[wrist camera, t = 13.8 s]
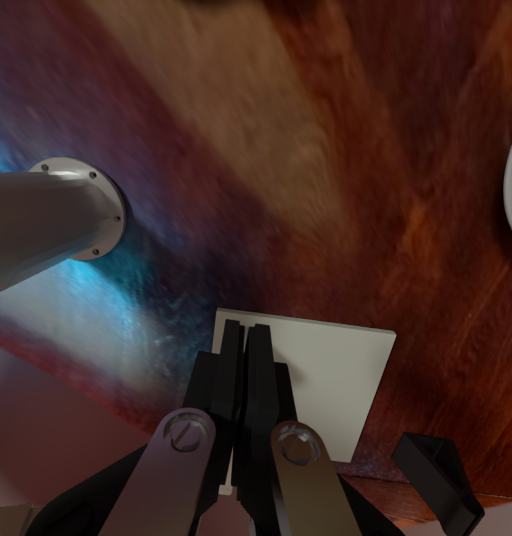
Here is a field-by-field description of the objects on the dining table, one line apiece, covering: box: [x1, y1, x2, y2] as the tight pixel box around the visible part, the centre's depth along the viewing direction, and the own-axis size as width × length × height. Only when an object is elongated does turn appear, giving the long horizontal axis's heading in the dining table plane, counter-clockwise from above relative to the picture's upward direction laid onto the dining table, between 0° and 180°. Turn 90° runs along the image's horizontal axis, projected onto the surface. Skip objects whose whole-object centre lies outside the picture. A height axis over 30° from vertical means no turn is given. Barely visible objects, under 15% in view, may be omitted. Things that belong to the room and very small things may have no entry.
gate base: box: [212, 308, 396, 463], centre depth 40 cm, size 26×26×12 cm
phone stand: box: [391, 432, 485, 536], centre depth 44 cm, size 9×6×12 cm, turn 78°
